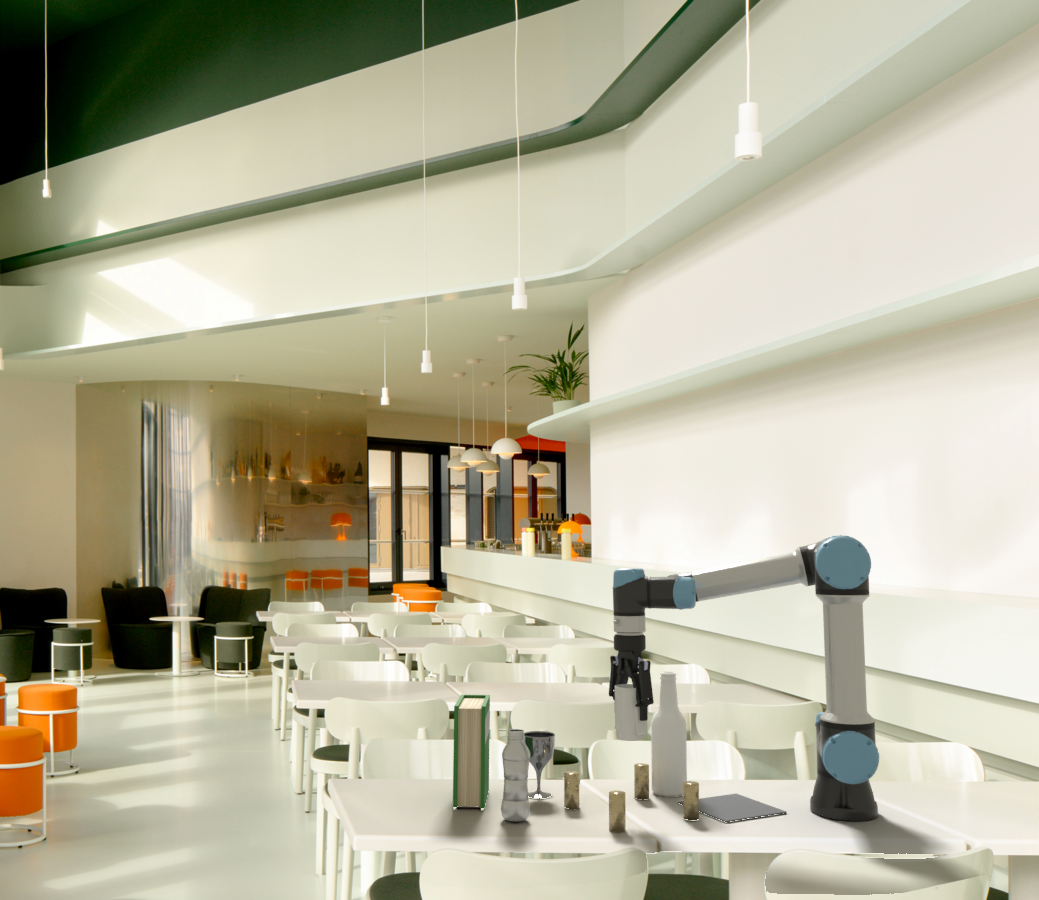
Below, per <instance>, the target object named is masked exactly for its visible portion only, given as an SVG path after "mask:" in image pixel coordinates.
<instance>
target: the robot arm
mask: <svg viewBox="0 0 1039 900" xmlns="http://www.w3.org/2000/svg"><path fill="white" fill-rule="evenodd" d="M871 569H872V559H871V556H870V553H869V551H868V549H867V548H866V547H865V545H864V544H863V543H862V542H861V541H859V540H858V539H856V538H855V537H852V536H850V535H849V536H848V535H843V534H840V535H833V536H830V537H827V538H823V539H822V540H820V541H817V542H814V543H812V544H808V545H804V546H798V547H797V548H796V549H795V550H794V551H793V552H790V553H783V554H778V555H773V556H768V557H762V558H757V559H753V560H746V561H742V562H736V563H730V564H725V565H720V566H714V567H709V568H705V569H699V570H694V571H690V572H683V573H678V574H676V573H675V574H671V575H667V576H648V575H647V576H646V574H645V570H644V569H643V568H636V567H635V568H629V567H628V568H626V567H625V568H617V569H615V570H614V571H613V579H612V581H613V582H612V583H613V584H612V601H613V603H612V604H613V605H612V607H613V632H614V633H615V634H614V635H613V649H614V650H615V651H616V652H617V654H616V655H611V656H610V657H609V659H610V670H609V671H610V674H609V686H608V696H609V697H611V698H612V699H613V701H614V702H615V685H619V684H629V683H628V682H629V679H631V684H633V688H636V700H637V704H636V705H635V718H636V735H637V736H639V735H643V736H646V735H648V718H649V717H648V716H649V715H648V708H649V706H650V705H654V694H653V685H652V684H653V683H652V677H651V663H652V662H651V661H650V660H649V659H648V660H644V659H643V658H644V657H643V655H642V652H644V651H646V649H647V648H646V646H647V645H646V643H647V642H646V635H645V634H644V633H645V632H646V630H647V629H646V609H650V610H651V609H659V610H660V609H665V610H666V609H667V610H669V609H670V610H671V609H672V610H681V611H682V610H692V609H695V607H696V603H697V602H698V603H699V602H704V601H707V600H708V601H709V600H715V599H719V598H725V597H730V596H731V597H732V596H738V595H742V594H747V593H753V592H759V591H765V590H770V589H776V588H781V587H787V586H792V585H797V584H798V585H800V584H802V585H803V586H805V587H810V586H811V587H812V586H814V589H815V596H816V597H817V598H818V599H819V600H820V601H821V602H822V614H823V618H822V619H823V641H824V642H823V643H824V644H823V647H824V648H823V649H824V670H825V671H824V672H825V673H824V674H825V697H826V709H825V711H821V712H818V713H816V716H815V721H814V722H815V723H814V726H815V736H816V737H815V740H816V744H815V745H816V780H815V784H814V785H813V787H814V788H813V792H812V796H810V799H809V807H810V809H809V810H810V811H811V812H812V813H813V812H814V813H813V814H815V815H817V814H818V815H817V816H820V815H821V816H820V817H823V818H826V817H827V818H826V819H831V818H832V820H837V819H838V820H840V821H846V820H849V822H861V821H862V822H864V820H865V821H871V820H874V819H877V818H878V816H879V807H878V803H877V801H876V799H875V796H874V791H873V790H872V786H871V782H870V780H871V778H872V777H873V776H874V775H875V774H876V772H877V770H878V767H879V763H880V753H879V751H878V750H879V749H878V747H877V744H876V742H877V741H876V726H875V725H876V724H875V718H874V717H872V715H870V713H869V712H868V703H867V701H868V700H867V680H866V653H865V651H866V650H865V633H864V632H865V631H864V628H865V627H864V608H863V607H864V606H863V604H864V602H865V601H866V600H867V599H868V598H869V597H870V580H869V579H870V572H871ZM641 699H642V701H641ZM614 721H615V722H614V729H615V730H616V714H615V713H614ZM870 819H871V820H870Z"/></svg>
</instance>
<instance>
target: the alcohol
mask: <svg viewBox="0 0 1039 900" xmlns="http://www.w3.org/2000/svg"><path fill="white" fill-rule="evenodd" d="M676 676H677V673H676V672H675V671H674V672H673V671H662V672H660V687H659V688H660V691H659V705H658V709H657V710H656V711H655V713H653V716H652V718H651V721H650V725H651V726H650V727H651V729H650V730H651V732H650V733H651V735H650V737H651V738H650V739H651V741H650V742H651V750H650V751H651V753H650V754H651V791H652V792H653V794H654V795H656V796H658V795H659V796H658V797H662V796H665V797H664V798H677V797H676V796H681V797H683V796H682V795H683V782H685V781H688V772H687V771H688V770H687V769H688V768H687V767H688V766H687V765H688V764H687V763H688V762H687V760H688V759H687V758H688V757H687V755H688V754H687V722H686V718H685V716H684V714H683V713H682V712H681V710H680V708H679V706H678V704H679V703H678V692H677V677H676Z"/></svg>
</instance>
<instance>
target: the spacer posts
mask: <svg viewBox="0 0 1039 900" xmlns="http://www.w3.org/2000/svg"><path fill="white" fill-rule="evenodd" d="M633 766H634V769H633V770H634V771H633V772H634V773H633V775H634V781H633V782H634V790H633V791H634V799H635V798H637V799H642V800H641V801H645V800H644V799H648V800H649V799H650V765H649V764H648V763H642V762H641V763H634V764H633ZM563 773H564V774H563V776H564V777H563V778H564V779H563V785H564V786H563V787H564V788H563V789H564V790H563V792H564V793H563V795H564V796H563V798H564V799H563V802H564V803H563V808H564V807H566V808H569V809H576V810H578V808H579V809H580V772H579V771H575V770H573V771H571V770H570V771H569V770H568V771H565V772H563ZM637 799H636V800H637ZM699 799H700V783H699V782H697V781H693V780H691V781H690V780H687V781H685V782H683V796H682V801H683V806H682V811H683V812H682V813H683V814H682V816H683V817H682V818H684V819H688V820H697V819H699V820H700V813H699ZM569 809H568V810H569ZM684 819H683V820H684ZM626 829H627V828H626V792H625V791H623V790H609V792H608V831H609V832H611V833H615V834H617V833H618V834H621V833H625V832H626Z"/></svg>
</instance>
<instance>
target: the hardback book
mask: <svg viewBox="0 0 1039 900" xmlns="http://www.w3.org/2000/svg"><path fill="white" fill-rule="evenodd" d="M490 696H491V695H490V694H460V695H459V697H458V699H457V701H456V702H455V704H454V706H453V707H454V709H453V714H454V715H453V761H452V762H453V763H452V764H453V765H452V766H453V769H452V770H453V771H452V772H453V773H452V775H453V776H452V779H453V780H452V808H453V807H457V806H478V807H477V808H484V807H485V808H486V806H485V803H486V804H487V801H486V799H487V800H488V797H487V795H488V796H489V793H488V791H489V792H490V719H491V718H490V717H491V716H490V713H491V712H490V709H491V708H490V707H491V702H490V701H491V697H490Z"/></svg>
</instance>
